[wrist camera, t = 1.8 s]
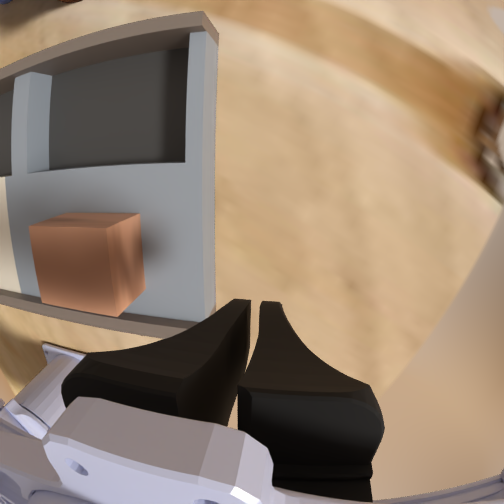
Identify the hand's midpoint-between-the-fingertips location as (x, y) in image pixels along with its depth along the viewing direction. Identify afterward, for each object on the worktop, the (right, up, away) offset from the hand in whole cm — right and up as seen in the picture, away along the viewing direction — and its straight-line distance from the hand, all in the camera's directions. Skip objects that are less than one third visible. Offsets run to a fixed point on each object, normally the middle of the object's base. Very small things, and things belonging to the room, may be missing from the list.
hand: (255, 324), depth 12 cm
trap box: (-17, +8, +11) cm, 22 cm away
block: (-10, +3, +8) cm, 13 cm away
